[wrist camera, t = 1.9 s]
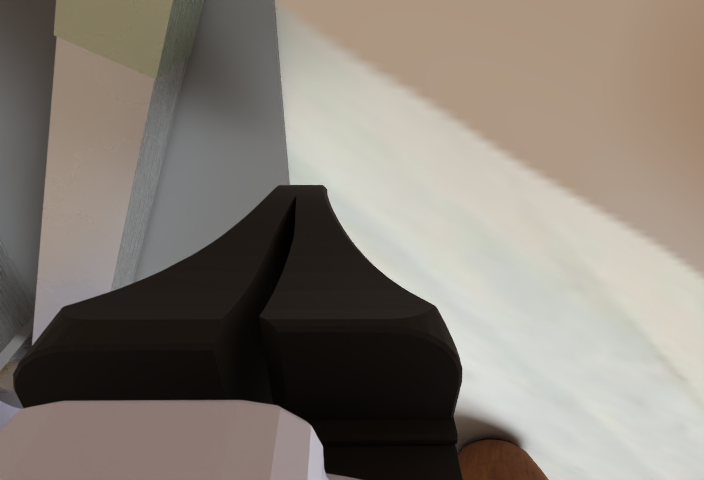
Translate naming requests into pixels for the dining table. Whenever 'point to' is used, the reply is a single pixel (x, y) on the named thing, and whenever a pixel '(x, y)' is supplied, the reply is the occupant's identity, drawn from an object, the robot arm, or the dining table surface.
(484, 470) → the wooden figurine
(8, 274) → the fixed arm
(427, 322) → the robot arm
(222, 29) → the mat
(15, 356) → the hinged arm
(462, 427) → the dining table surface
